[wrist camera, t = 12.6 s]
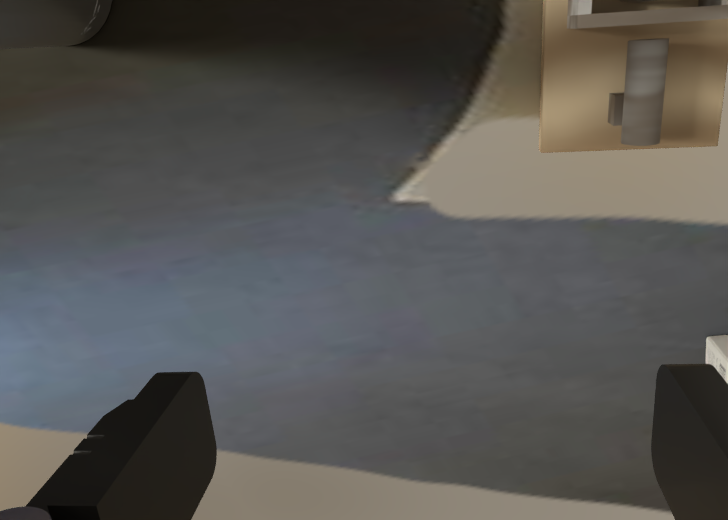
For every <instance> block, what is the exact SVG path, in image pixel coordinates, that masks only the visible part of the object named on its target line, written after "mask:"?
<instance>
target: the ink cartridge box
mask: <svg viewBox="0 0 728 520" xmlns="http://www.w3.org/2000/svg"><path fill="white" fill-rule="evenodd" d="M706 364H711V365H713V366H714V367H715V369H716V370H717V371H718V372H719V374H720V375H721V376H722V377H723V379H724V380H725V381H726V382H727V384H728V335H719V336H709V337H707V339H706Z"/></svg>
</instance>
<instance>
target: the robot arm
mask: <svg viewBox="0 0 728 520" xmlns="http://www.w3.org/2000/svg"><path fill="white" fill-rule="evenodd" d="M111 4H112V0H0V49H11V48H33V47H57V46H71V45H76V44H80V43H82V42H84V41H86V40H89V39H90V38H91V37H93V36H94V35H95V34H96V33H97V32H98V31H99V30H100V29H101V27H102V26H103V25H104V23H105V22H106V19H107V17H108V15H109V12H110V9H111ZM651 451H652V461H653V467H654V472H655V476H656V479H657V481H658V484H659V486H660V488H661V490H662V492H663V495H664V497H665V499H666V501H667V503H668V505H669V507H670V509H671V512H672V514H673V516H674V518H675V520H728V384H727V382H726V381H725V380H724V379H723V377H722V376H721V375H720V374H719V372H718V371H717V370H716V369H715V367H714V366H713V365H711V364H669V365H661V366H660V368H659V370H658V373H657V379H656V391H655V404H654V417H653V430H652V443H651ZM216 454H217V451H216V441H215V436H214V430H213V425H212V420H211V415H210V410H209V405H208V400H207V395H206V389H205V385H204V381H203V378H202V376H201V375H200V374H199V373H198V372H163V373H156V374H155V375H154V376H153V377H152V378H151V379H150V380H149V382H148V383H147V384H146V385H145V387H144V388H143V389H142V390H141V391H140V393H139V394H138V395H137V396H136V398H135V399H134V400H127V401H125V402H124V403H122V404H121V405H119V406H118V407H116V408H115V409H113V410H112V411H110V412H109V413H107V414H106V415H104V416H103V417H102V418H101V419H100V421H99V422H98V423H97V424H96V425H95V426H94V428H93V429H92V430H91V431H90V432H89V433H88V435H87V439H83V440H82V441H81V443H80V444H79V445H78V446H77V447H76V448H75V450H74V454H73V455H69V457H68V458H67V459H66V460H65V461H64V462H63V464H62V465H61V466H60V467H59V468H58V469H57V470H56V472H55V473H54V474H53V475H52V476H51V477H50V478H49V480H48V481H47V482H46V483H45V484H44V486H43V487H42V488H41V489H40V490H39V491H38V492H37V494H36V495H35V496H34V497H33V498H32V499H31V501H30V502H29V503H28V504H27V505H26V506H25V507H16V508H11V509H6V510H3V511H0V520H191V519H192V517H193V515H194V512H195V511H196V509H197V507H198V505H199V503H200V500H201V499H202V497H203V495H204V493H205V491H206V489H207V487H208V485H209V483H210V481H211V479H212V477H213V474H214V470H215V465H216Z"/></svg>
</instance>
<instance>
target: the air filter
mask: <svg viewBox="0 0 728 520" xmlns="http://www.w3.org/2000/svg"><path fill="white" fill-rule="evenodd" d="M619 1H621V2H628V3H640V2H648V1H655V0H619Z"/></svg>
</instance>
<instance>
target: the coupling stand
mask: <svg viewBox="0 0 728 520" xmlns="http://www.w3.org/2000/svg"><path fill="white" fill-rule="evenodd" d="M727 63H728V0H655V1H648V2H640V3H628V2H621V1H619V0H543V21H542V56H541V92H540V128H539V150H540V151H541V153H546V152H547V153H548V152H574V151H600V150H625V149H626V150H627V149H650V148H652V149H653V148H679V147H705V146H717V145H718V137H719V129H720V121H721V113H722V103H723V96H724V88H725V80H726V72H727Z"/></svg>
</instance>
